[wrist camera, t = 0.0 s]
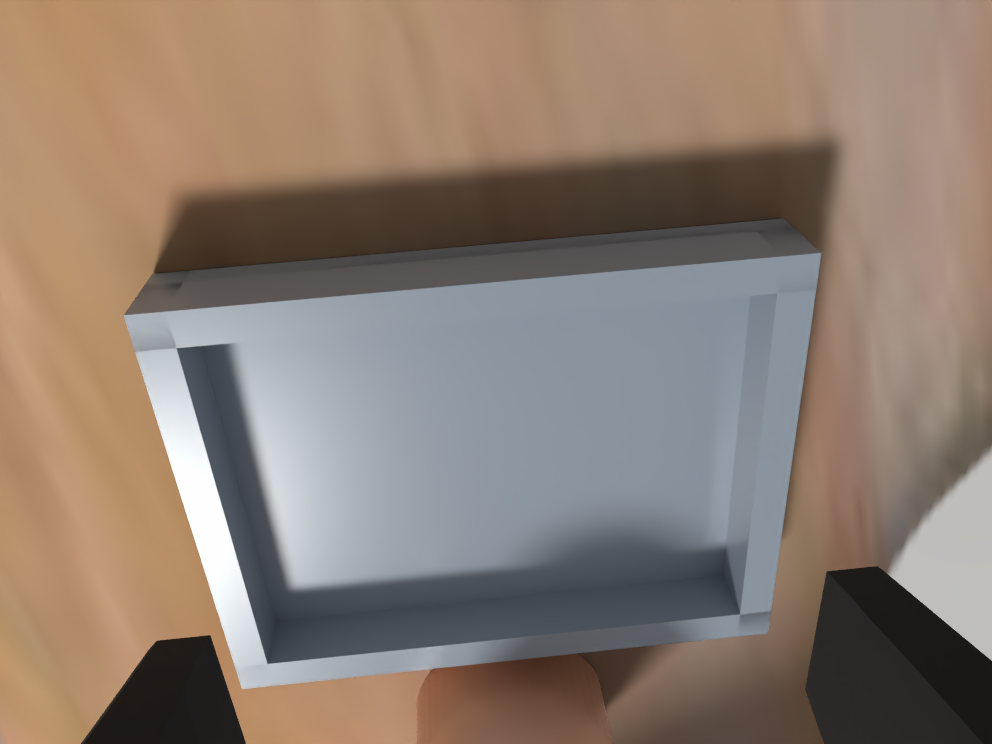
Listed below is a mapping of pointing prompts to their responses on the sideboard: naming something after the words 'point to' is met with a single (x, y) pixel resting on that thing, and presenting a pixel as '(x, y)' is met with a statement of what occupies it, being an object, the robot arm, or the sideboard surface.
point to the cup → (514, 703)
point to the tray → (484, 444)
